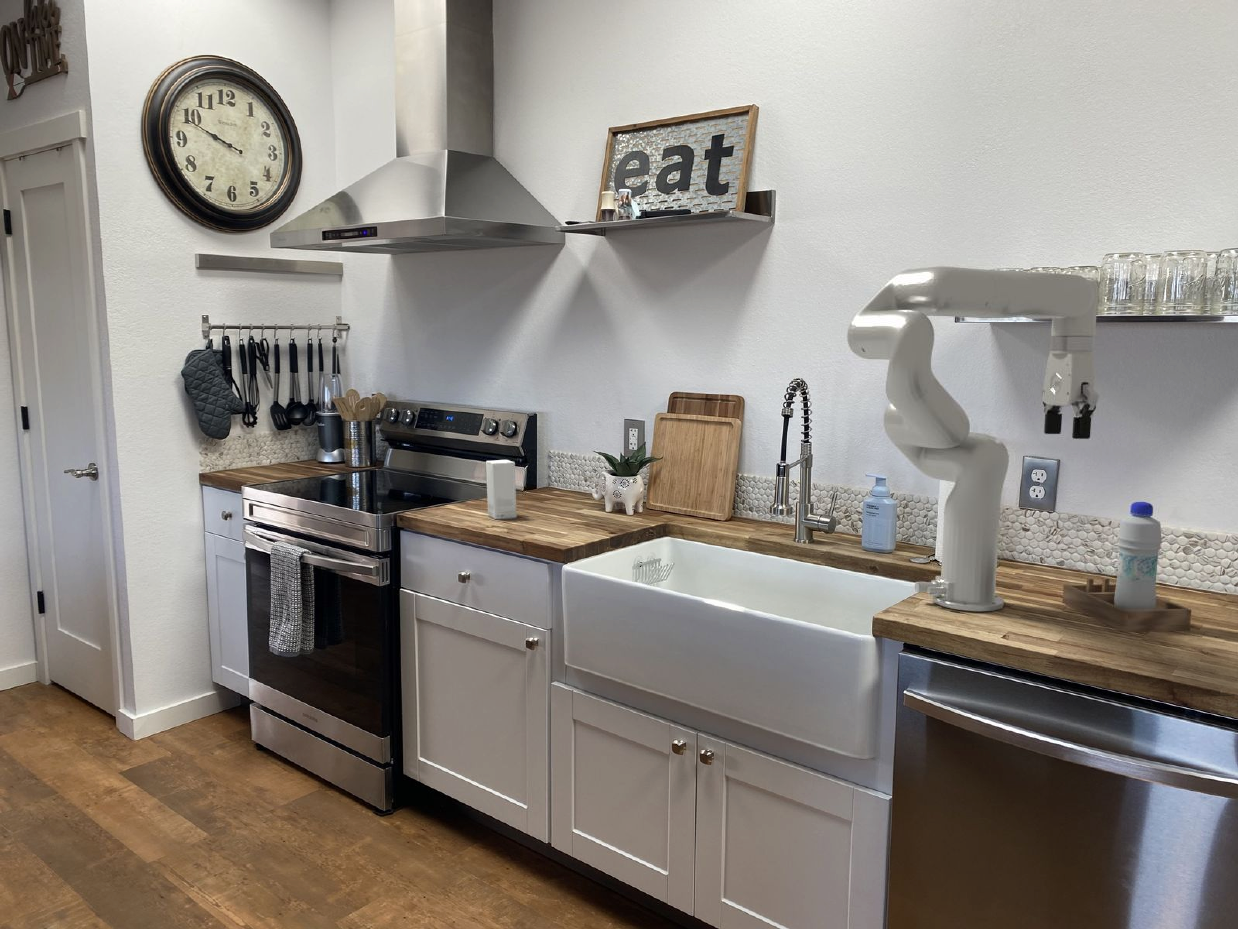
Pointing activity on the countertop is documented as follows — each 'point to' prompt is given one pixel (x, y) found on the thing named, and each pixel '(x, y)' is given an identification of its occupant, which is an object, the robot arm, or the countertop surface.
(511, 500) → the skincare box
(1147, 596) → the bottle
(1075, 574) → the countertop surface
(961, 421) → the robot arm
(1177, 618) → the tray
